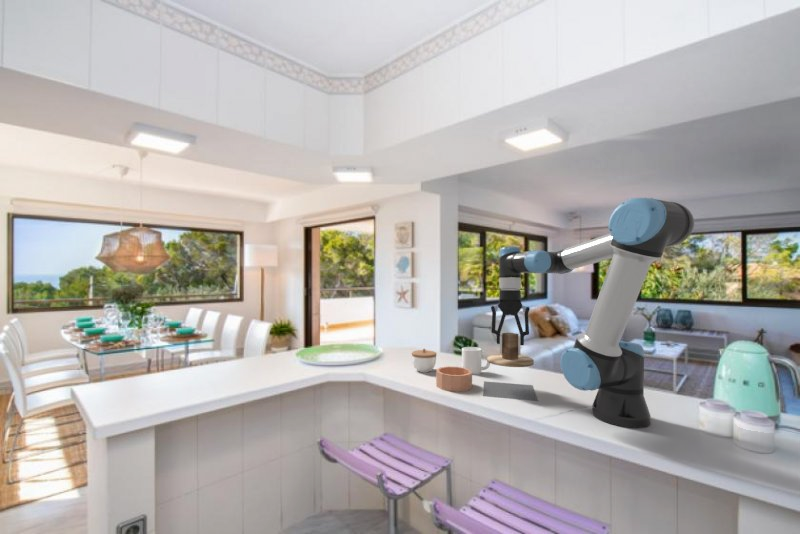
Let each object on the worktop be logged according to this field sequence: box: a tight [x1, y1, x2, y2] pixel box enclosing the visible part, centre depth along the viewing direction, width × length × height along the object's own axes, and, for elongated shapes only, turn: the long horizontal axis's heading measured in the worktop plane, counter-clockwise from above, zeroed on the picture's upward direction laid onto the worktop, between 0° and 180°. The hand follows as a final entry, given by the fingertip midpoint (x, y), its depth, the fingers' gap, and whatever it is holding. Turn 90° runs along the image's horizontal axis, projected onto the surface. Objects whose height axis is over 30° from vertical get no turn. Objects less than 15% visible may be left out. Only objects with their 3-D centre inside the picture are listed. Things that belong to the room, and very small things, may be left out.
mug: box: [461, 346, 491, 375], centre depth 161 cm, size 12×8×10 cm
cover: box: [486, 332, 534, 368], centre depth 136 cm, size 16×16×10 cm
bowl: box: [435, 365, 473, 392], centre depth 141 cm, size 13×13×6 cm
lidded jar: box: [411, 348, 437, 373], centre depth 164 cm, size 11×11×9 cm
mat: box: [482, 380, 539, 402], centre depth 136 cm, size 18×18×1 cm
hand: (510, 353), depth 136 cm, fingers closed on cover, 6 cm apart
